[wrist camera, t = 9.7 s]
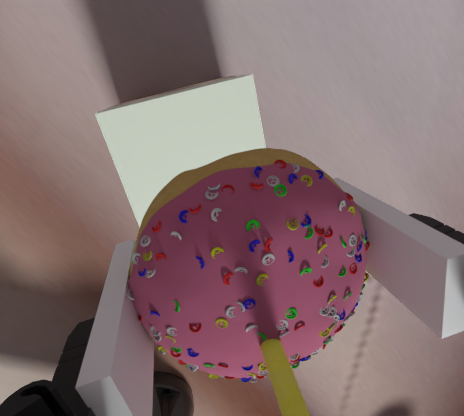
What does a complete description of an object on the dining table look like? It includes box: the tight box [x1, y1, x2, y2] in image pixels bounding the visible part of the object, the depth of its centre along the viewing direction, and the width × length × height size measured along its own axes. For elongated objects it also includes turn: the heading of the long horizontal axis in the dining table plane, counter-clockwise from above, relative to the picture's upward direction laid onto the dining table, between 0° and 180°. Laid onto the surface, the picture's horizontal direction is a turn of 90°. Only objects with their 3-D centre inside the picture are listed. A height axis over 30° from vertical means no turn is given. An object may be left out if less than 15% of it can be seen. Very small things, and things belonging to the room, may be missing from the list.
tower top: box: [95, 74, 266, 227], centre depth 28 cm, size 12×12×6 cm
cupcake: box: [127, 148, 370, 416], centre depth 10 cm, size 9×8×12 cm
